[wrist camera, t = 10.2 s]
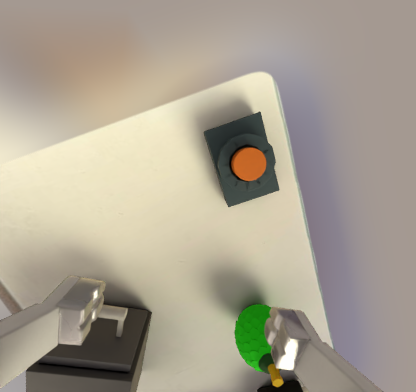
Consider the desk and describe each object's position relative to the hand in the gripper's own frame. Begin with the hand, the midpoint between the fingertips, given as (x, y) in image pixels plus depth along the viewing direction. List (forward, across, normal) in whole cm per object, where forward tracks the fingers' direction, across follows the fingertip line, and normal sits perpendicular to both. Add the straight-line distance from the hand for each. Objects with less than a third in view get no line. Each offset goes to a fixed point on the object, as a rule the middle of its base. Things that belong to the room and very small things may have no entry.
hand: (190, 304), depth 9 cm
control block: (+18, -5, -6) cm, 20 cm away
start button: (+15, -5, -6) cm, 17 cm away
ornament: (+18, -14, +17) cm, 29 cm away
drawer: (+17, +9, +24) cm, 30 cm away
